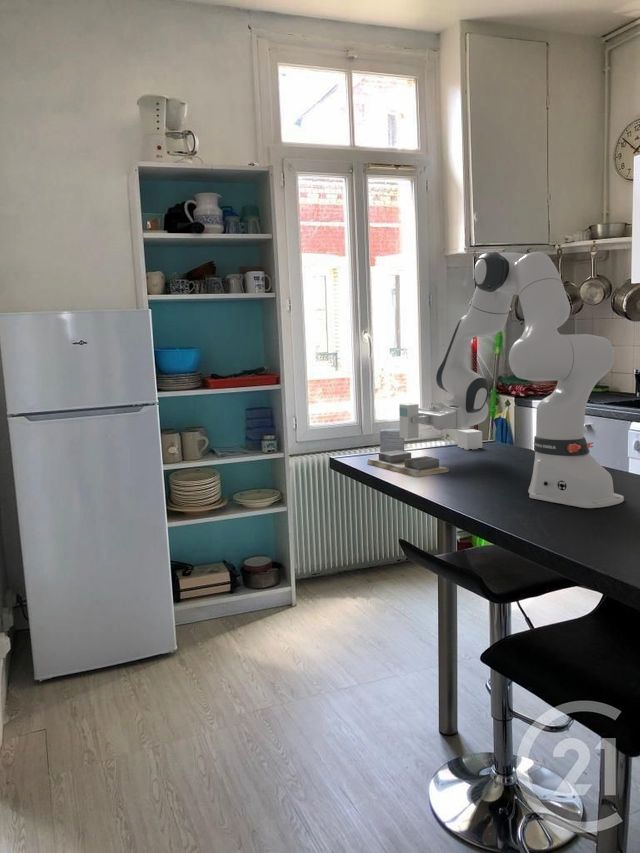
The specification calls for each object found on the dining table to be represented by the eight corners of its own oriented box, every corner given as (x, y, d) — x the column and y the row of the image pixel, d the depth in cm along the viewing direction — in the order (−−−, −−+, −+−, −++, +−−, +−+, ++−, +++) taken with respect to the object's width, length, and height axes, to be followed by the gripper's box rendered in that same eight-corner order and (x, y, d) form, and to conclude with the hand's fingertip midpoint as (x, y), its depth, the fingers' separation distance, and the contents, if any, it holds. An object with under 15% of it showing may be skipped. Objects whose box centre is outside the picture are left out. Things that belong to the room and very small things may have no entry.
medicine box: (404, 454, 230) (404, 428, 229) (404, 457, 226) (404, 430, 224) (380, 454, 231) (380, 429, 229) (380, 457, 226) (379, 431, 225)
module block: (418, 437, 207) (418, 404, 206) (407, 439, 205) (406, 405, 204) (410, 435, 211) (410, 403, 209) (398, 437, 209) (398, 404, 207)
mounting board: (448, 471, 201) (448, 459, 201) (416, 476, 195) (416, 464, 195) (398, 459, 222) (398, 448, 221) (367, 463, 216) (367, 452, 215)
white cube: (457, 447, 242) (457, 430, 241) (472, 446, 244) (472, 429, 243) (467, 450, 236) (467, 432, 235) (482, 448, 238) (482, 431, 237)
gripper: (421, 402, 222) (385, 405, 215) (465, 408, 205) (428, 412, 198) (421, 421, 223) (386, 425, 216) (465, 429, 206) (428, 434, 199)
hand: (406, 419), depth 207 cm, fingers closed on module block, 4 cm apart
